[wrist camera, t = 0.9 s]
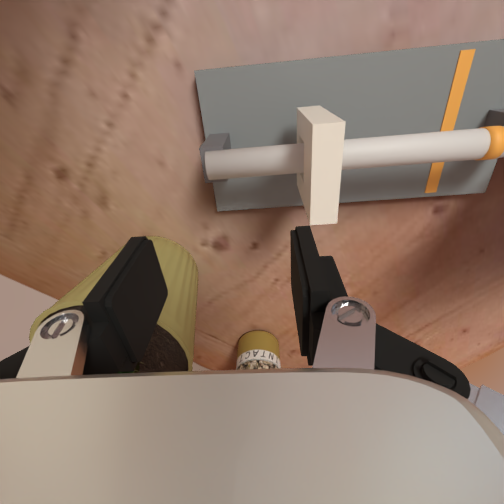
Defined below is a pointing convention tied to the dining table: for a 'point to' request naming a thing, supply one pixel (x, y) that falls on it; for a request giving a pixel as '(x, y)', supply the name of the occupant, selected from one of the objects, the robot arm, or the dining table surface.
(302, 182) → the collar
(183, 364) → the potted cactus
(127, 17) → the dining table surface
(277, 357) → the bark wrapped tube
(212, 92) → the pipe rig
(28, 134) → the dining table surface
